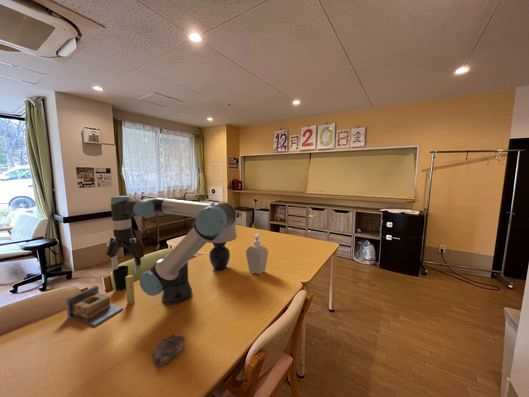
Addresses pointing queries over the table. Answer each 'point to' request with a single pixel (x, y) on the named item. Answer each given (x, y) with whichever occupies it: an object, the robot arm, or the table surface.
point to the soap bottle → (257, 256)
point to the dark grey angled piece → (96, 318)
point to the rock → (168, 349)
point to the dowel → (130, 289)
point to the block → (91, 305)
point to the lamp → (222, 248)
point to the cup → (120, 277)
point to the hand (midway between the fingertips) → (126, 270)
